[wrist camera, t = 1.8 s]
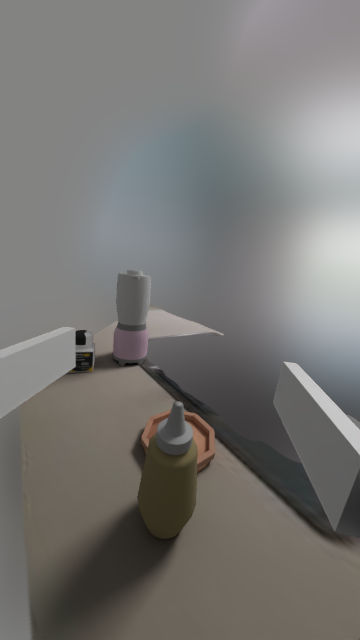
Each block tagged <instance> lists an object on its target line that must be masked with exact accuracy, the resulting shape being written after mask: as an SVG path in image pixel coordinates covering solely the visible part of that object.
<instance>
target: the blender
mask: <svg viewBox="0 0 360 640" xmlns="http://www.w3.org/2000/svg"><path fill="white" fill-rule="evenodd" d="M150 294H151V277H150V276H146V275H143V272H142V271H135V270H127V273H119V274H118V283H117V299H116V304H117V313H118V325H117V327H116V329H115V331H114V344H113V358H114V359H115V360H117V361H119V365H123V366H124V365H125V363H138V365H141V364H143V361H144V360H145V359H146V358H147V346H148V331H147V328H146V318H147V314H148V310H149V305H150Z"/></svg>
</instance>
